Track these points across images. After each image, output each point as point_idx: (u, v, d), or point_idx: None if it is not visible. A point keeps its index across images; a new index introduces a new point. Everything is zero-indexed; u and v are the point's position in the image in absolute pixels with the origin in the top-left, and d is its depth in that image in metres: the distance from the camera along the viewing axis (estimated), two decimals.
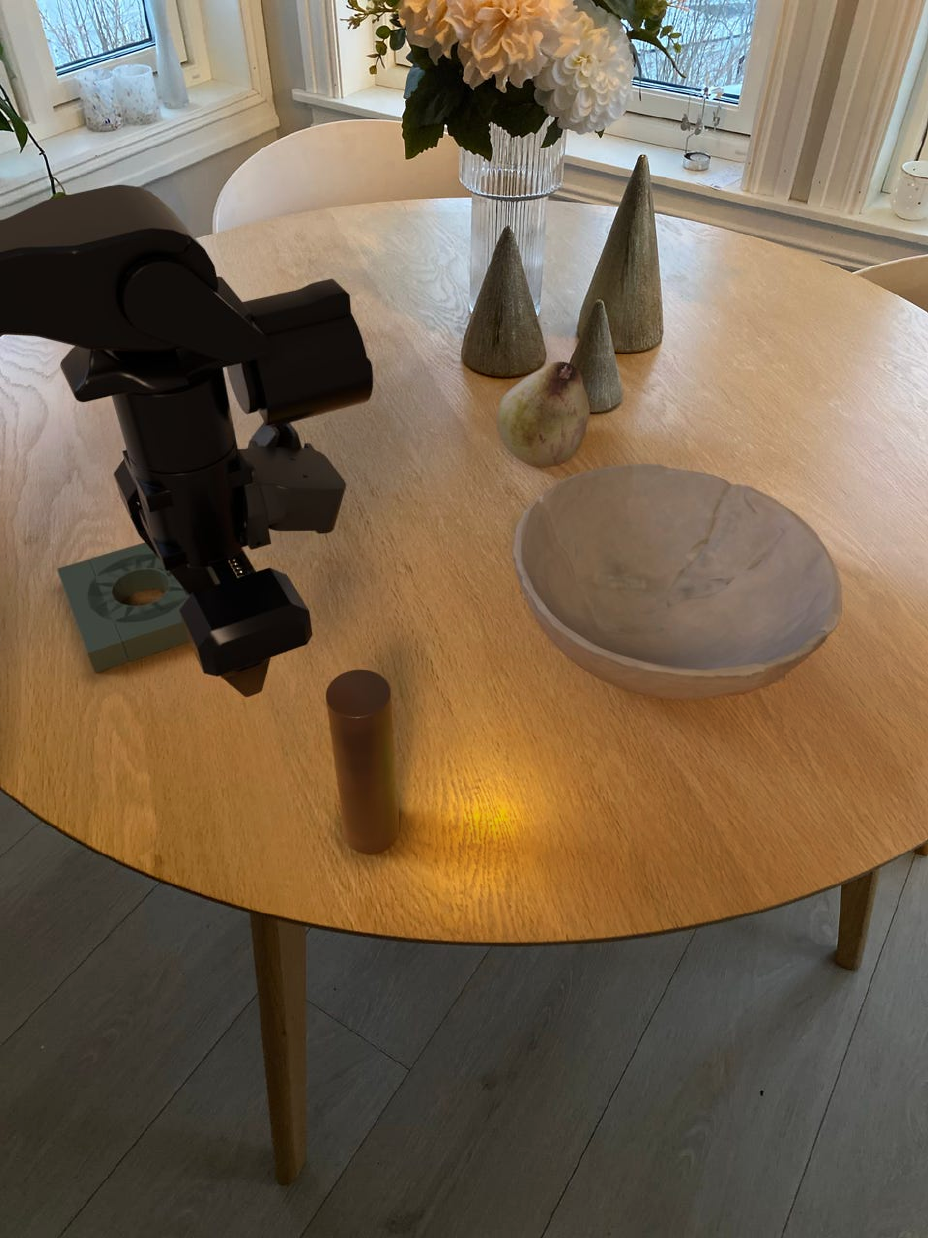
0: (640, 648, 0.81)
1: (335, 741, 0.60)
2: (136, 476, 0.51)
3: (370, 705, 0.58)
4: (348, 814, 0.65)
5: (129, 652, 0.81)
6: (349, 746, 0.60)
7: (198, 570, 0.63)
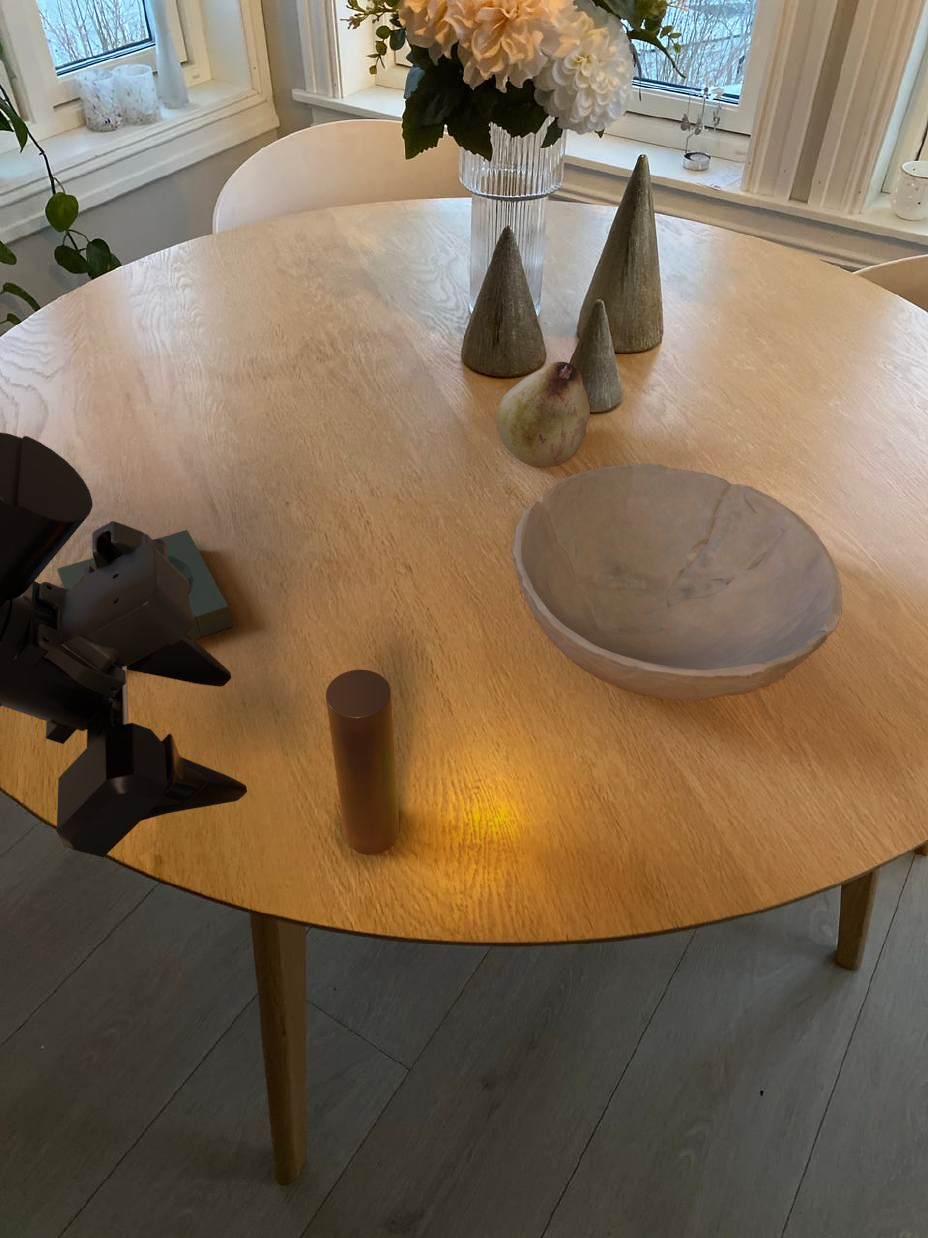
0: (640, 648, 0.81)
1: (335, 741, 0.60)
2: None
3: (370, 705, 0.58)
4: (348, 814, 0.65)
5: None
6: (349, 746, 0.60)
7: (187, 663, 0.60)
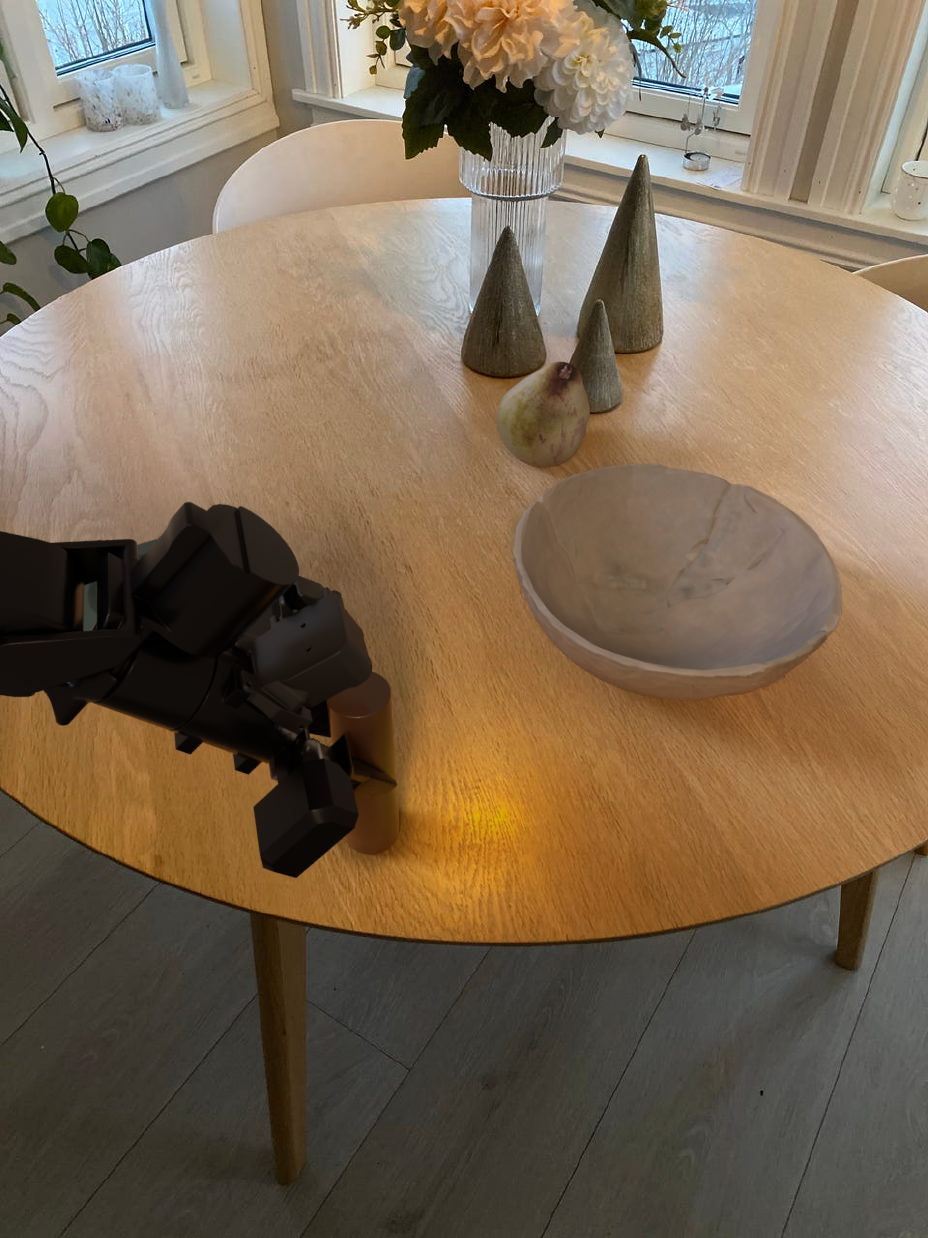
0: (640, 648, 0.81)
1: (335, 741, 0.60)
2: None
3: (370, 705, 0.58)
4: None
5: None
6: (349, 746, 0.60)
7: None
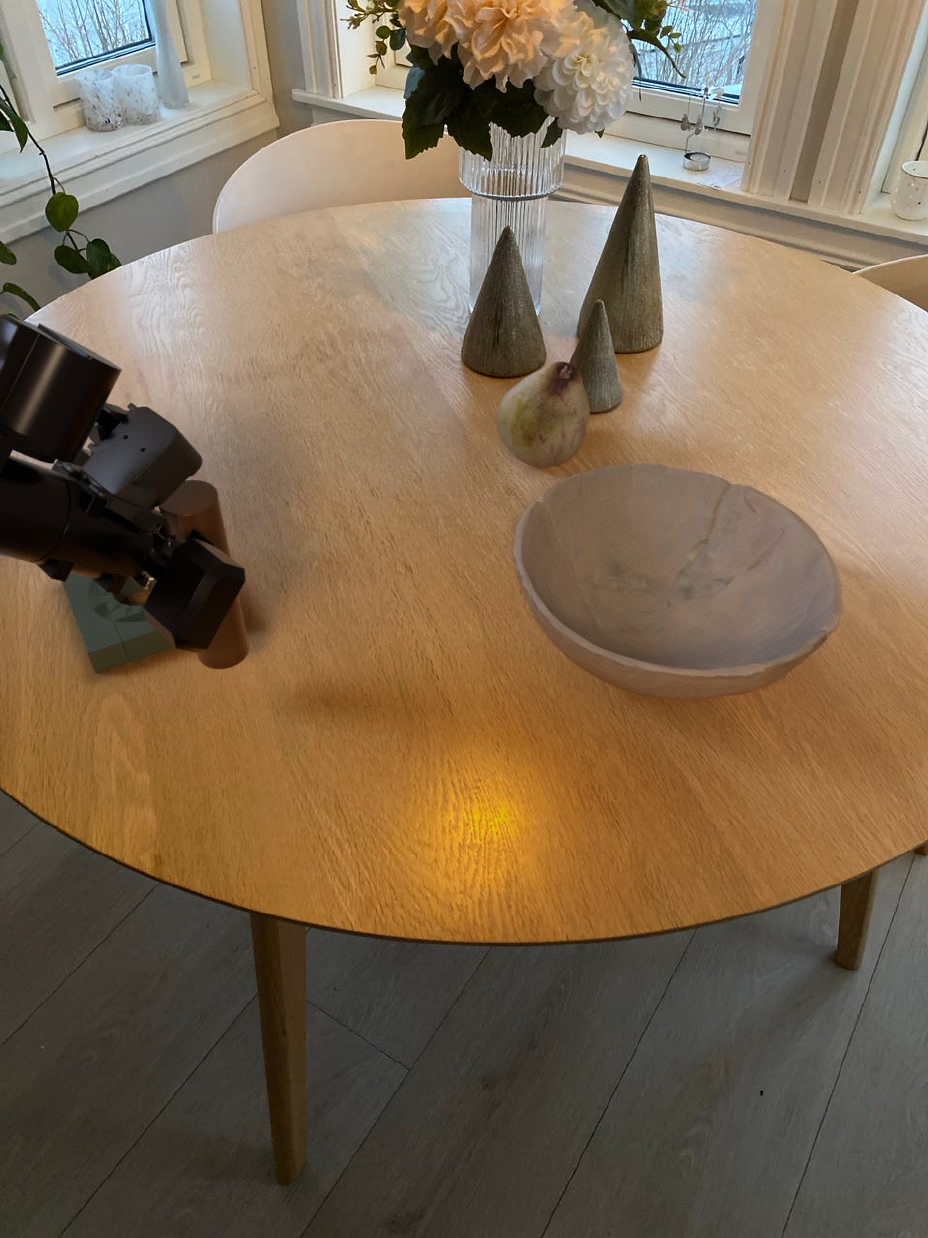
0: (640, 648, 0.81)
1: None
2: None
3: (204, 501, 0.65)
4: None
5: (129, 652, 0.81)
6: None
7: None
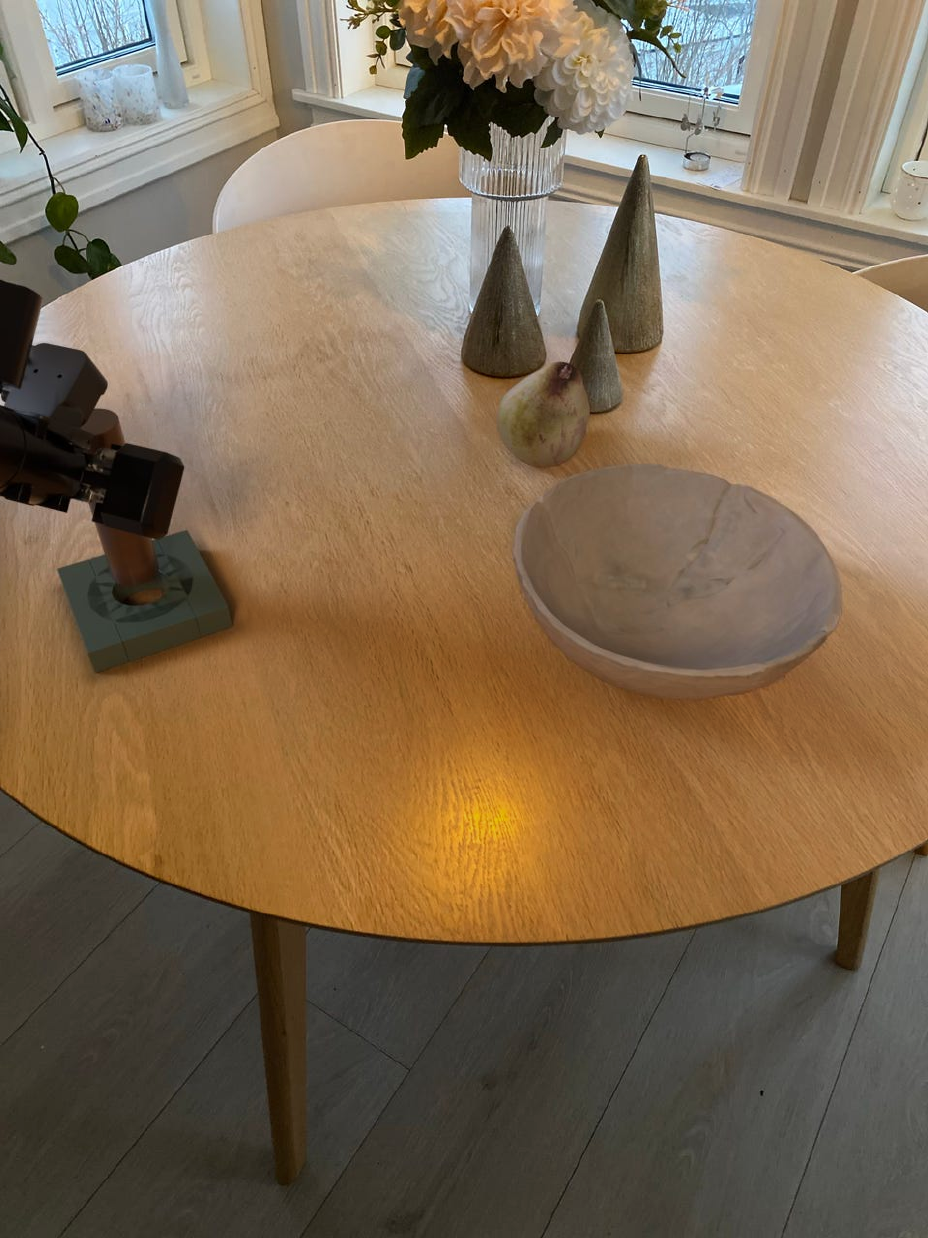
0: (640, 648, 0.81)
1: None
2: None
3: (108, 421, 0.73)
4: (125, 546, 0.79)
5: (129, 652, 0.81)
6: None
7: None
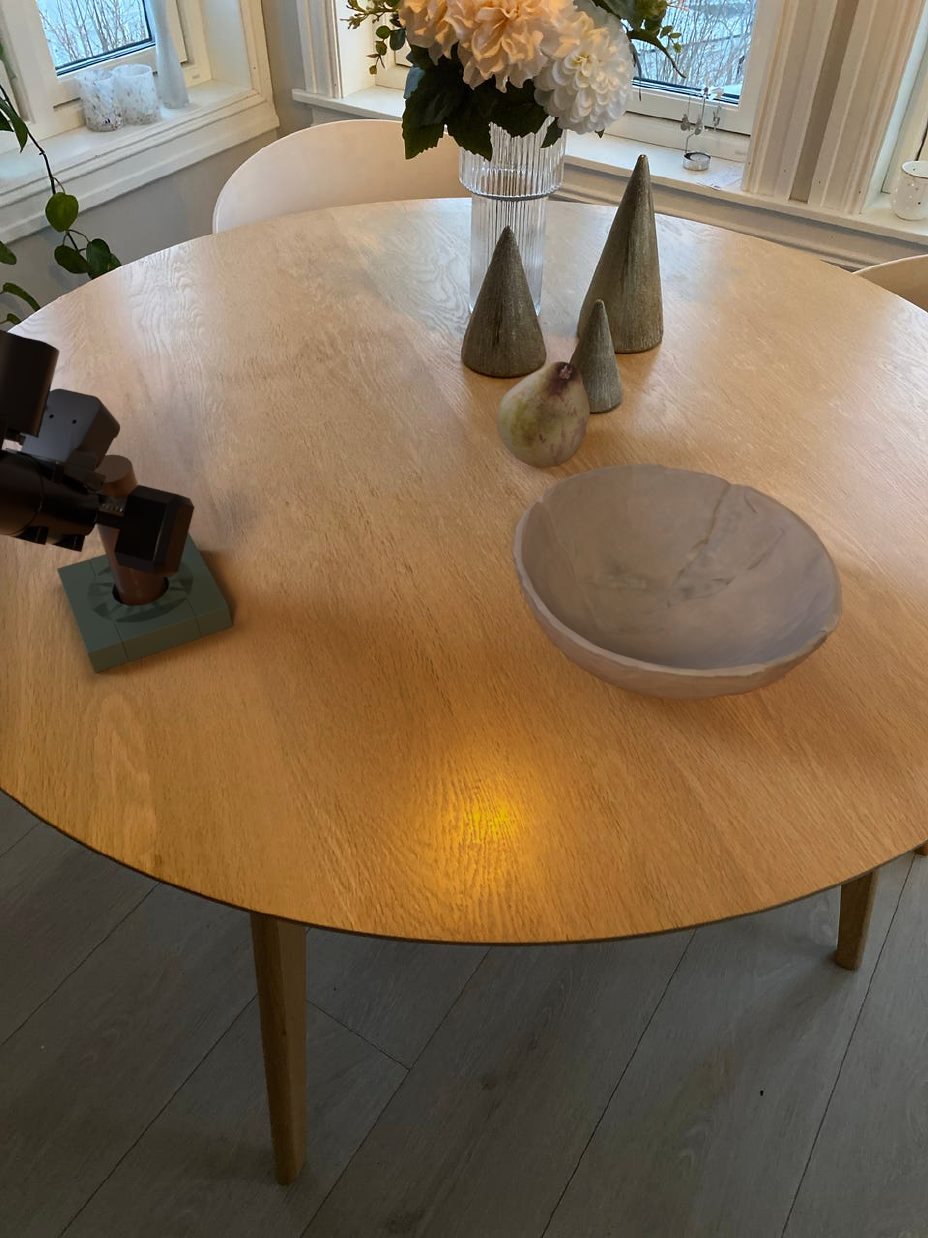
0: (640, 648, 0.81)
1: None
2: (12, 536, 0.67)
3: (123, 468, 0.76)
4: (137, 584, 0.82)
5: (129, 652, 0.81)
6: None
7: None
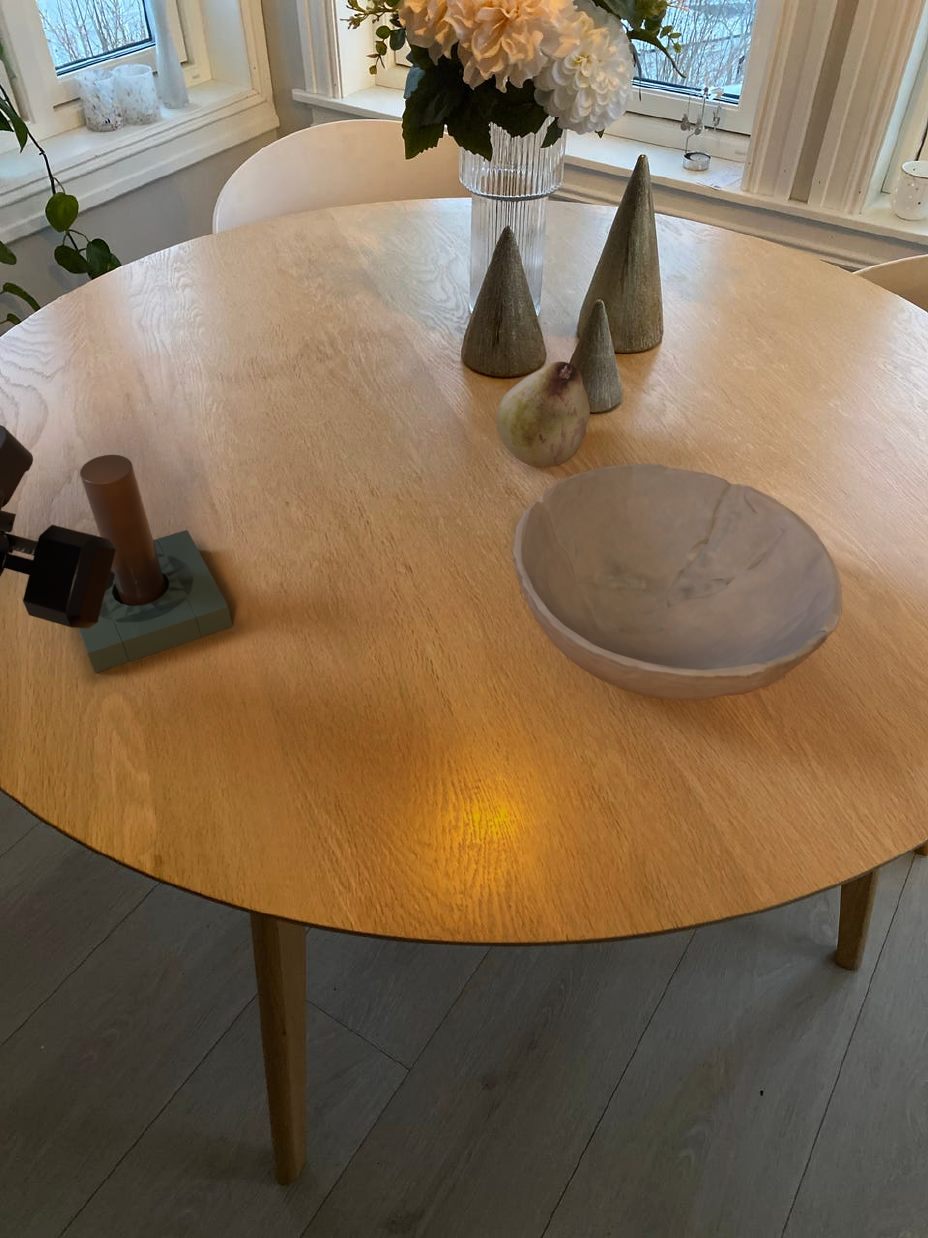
0: (640, 648, 0.81)
1: (110, 516, 0.77)
2: None
3: (123, 468, 0.76)
4: (137, 584, 0.82)
5: (129, 652, 0.81)
6: (125, 510, 0.77)
7: None
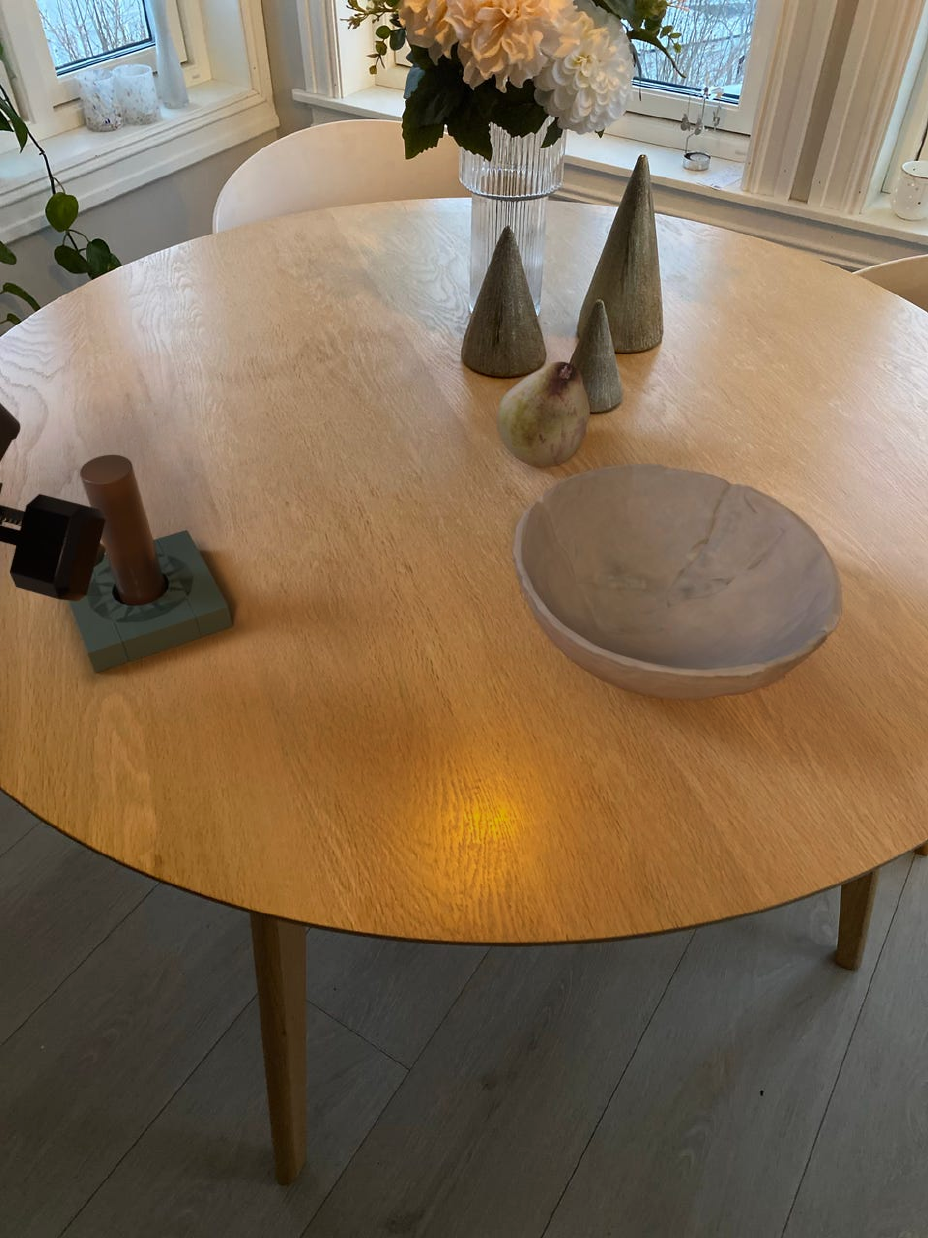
0: (640, 648, 0.81)
1: (110, 516, 0.77)
2: None
3: (123, 468, 0.76)
4: (137, 584, 0.82)
5: (129, 652, 0.81)
6: (125, 510, 0.77)
7: None
